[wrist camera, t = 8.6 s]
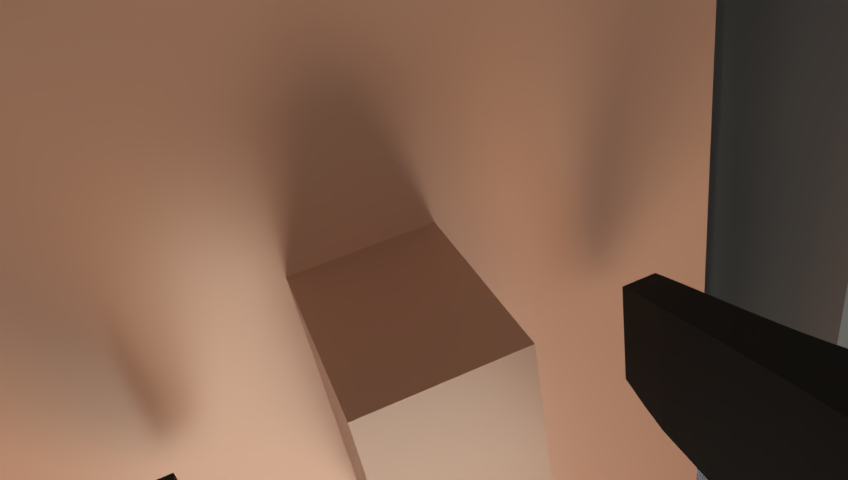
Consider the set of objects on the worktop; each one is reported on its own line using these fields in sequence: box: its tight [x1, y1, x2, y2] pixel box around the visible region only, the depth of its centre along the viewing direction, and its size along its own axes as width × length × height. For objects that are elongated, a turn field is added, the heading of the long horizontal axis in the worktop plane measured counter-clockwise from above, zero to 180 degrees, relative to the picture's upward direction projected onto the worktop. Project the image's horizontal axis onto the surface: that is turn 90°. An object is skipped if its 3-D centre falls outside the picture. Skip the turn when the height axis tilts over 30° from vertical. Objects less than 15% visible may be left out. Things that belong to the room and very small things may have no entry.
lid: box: [0, 0, 716, 480], centre depth 12 cm, size 15×13×4 cm
